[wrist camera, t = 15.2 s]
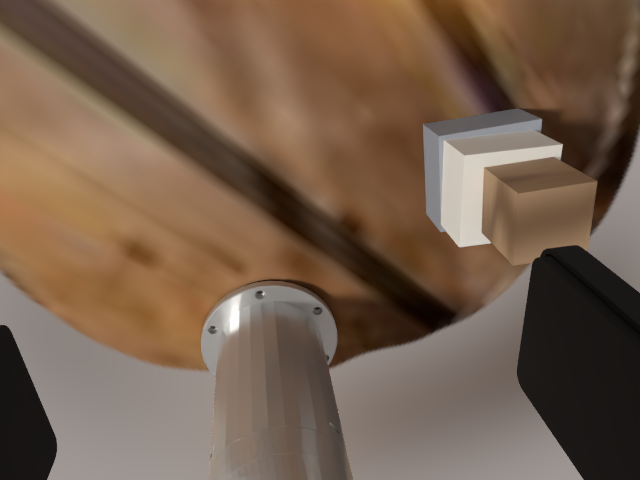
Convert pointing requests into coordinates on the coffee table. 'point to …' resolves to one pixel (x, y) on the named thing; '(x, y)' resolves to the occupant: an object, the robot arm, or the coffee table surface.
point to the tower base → (461, 129)
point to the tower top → (468, 171)
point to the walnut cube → (536, 207)
